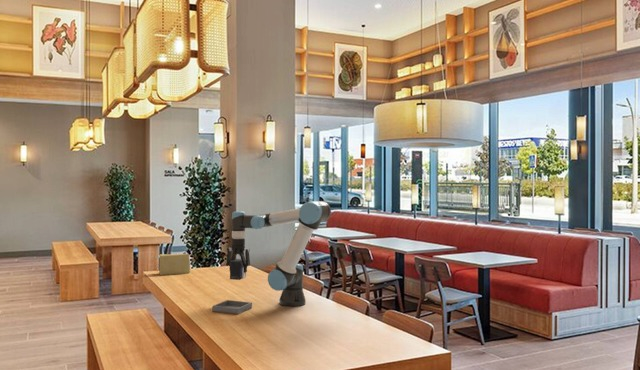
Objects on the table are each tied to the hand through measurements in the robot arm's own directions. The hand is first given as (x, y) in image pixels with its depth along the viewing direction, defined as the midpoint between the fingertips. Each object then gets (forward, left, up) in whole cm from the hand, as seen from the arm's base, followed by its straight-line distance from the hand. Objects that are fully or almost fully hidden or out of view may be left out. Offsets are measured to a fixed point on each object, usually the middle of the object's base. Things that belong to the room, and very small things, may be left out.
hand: (238, 277), depth 301 cm
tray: (-6, +16, -14) cm, 22 cm away
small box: (0, 0, -1) cm, 1 cm away
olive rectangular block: (+90, -63, -15) cm, 111 cm away
